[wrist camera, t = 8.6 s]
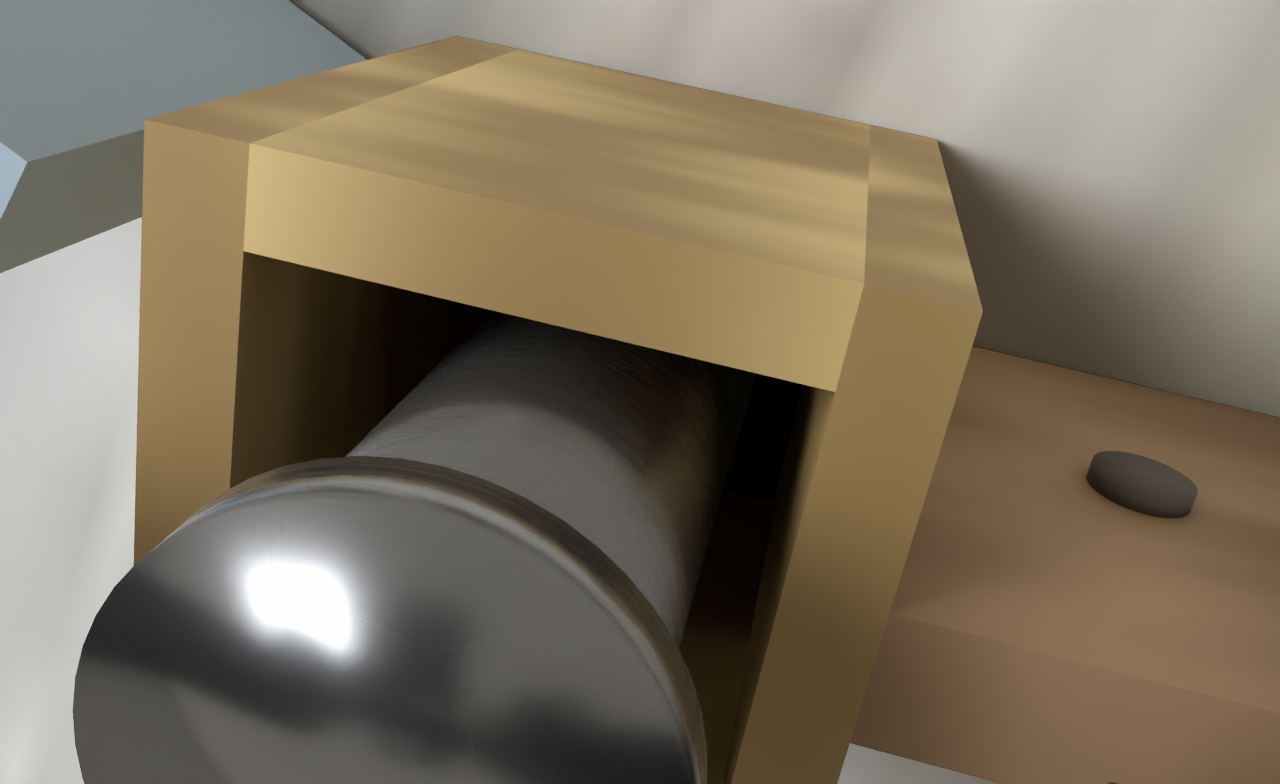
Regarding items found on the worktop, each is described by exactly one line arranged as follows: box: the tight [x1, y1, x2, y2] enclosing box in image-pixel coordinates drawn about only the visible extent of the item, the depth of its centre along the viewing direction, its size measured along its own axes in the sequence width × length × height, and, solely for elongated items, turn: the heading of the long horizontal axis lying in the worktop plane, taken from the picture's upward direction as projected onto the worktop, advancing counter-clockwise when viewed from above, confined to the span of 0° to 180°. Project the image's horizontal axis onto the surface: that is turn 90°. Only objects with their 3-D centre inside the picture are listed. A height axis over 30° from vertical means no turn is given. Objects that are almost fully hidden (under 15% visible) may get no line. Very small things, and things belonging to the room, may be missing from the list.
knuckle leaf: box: [134, 36, 1280, 784], centre depth 12 cm, size 16×6×7 cm, turn 80°
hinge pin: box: [73, 310, 755, 784], centre depth 12 cm, size 4×4×10 cm
